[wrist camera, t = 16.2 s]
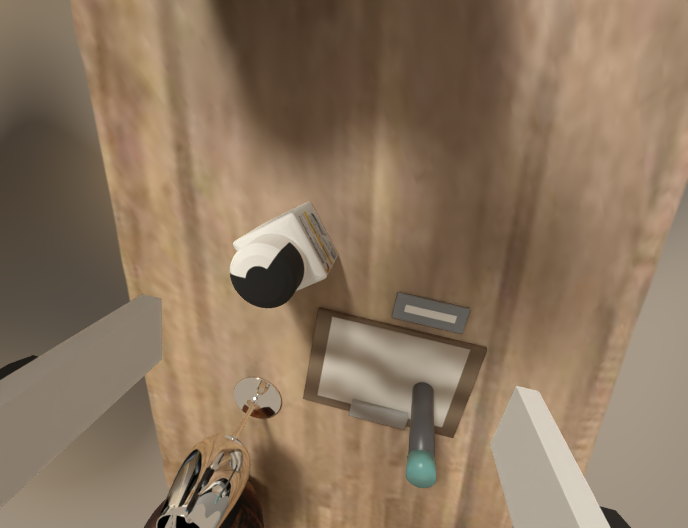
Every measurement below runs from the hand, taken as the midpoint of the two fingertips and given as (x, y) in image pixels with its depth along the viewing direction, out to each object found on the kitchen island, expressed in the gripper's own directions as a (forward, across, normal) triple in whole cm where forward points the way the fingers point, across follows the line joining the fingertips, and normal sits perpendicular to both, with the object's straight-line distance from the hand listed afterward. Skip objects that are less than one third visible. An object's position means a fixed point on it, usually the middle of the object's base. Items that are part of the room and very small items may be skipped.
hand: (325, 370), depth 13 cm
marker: (+30, +11, -23) cm, 39 cm away
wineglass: (+31, -12, -32) cm, 46 cm away
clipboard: (+31, +6, -22) cm, 38 cm away
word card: (+31, +9, -12) cm, 34 cm away
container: (+31, -9, -6) cm, 33 cm away
